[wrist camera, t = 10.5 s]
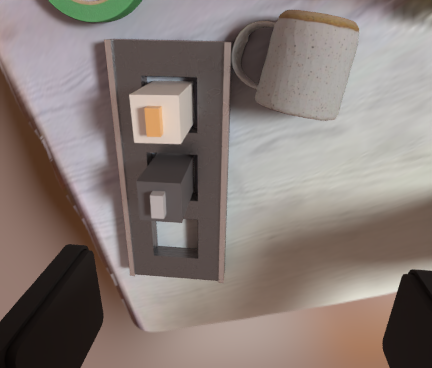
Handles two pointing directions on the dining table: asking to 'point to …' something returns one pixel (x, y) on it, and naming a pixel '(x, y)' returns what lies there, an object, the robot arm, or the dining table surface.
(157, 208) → the matte charcoal box
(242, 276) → the dining table surface
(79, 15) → the tape roll
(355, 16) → the dining table surface
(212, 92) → the panel
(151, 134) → the white block orange tab
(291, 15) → the ceramic mug
